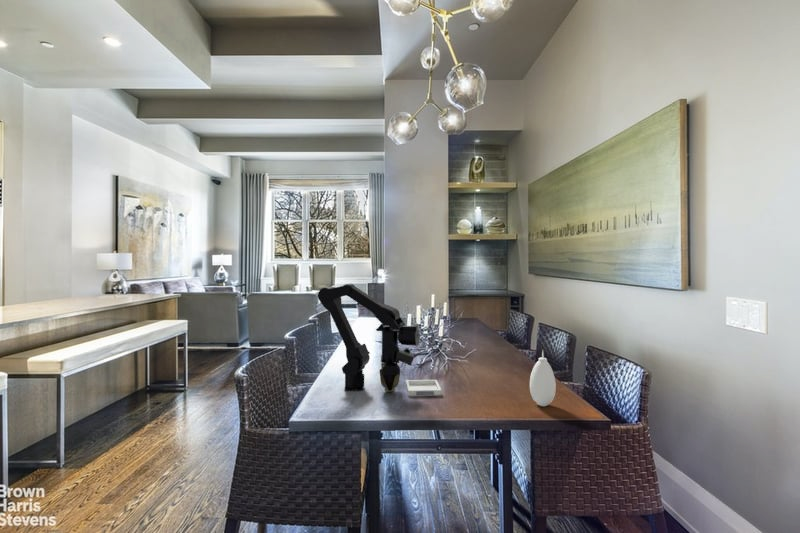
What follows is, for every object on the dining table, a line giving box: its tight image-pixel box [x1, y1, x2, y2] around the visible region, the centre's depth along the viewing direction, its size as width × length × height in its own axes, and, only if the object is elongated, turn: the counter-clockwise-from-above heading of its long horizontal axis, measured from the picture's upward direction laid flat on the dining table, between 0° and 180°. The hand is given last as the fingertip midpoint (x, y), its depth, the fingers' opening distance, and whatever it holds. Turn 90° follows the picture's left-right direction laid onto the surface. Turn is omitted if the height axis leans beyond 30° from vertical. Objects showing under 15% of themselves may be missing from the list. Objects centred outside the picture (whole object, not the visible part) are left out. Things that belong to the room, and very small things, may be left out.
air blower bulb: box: [529, 350, 557, 407], centre depth 124 cm, size 8×8×18 cm
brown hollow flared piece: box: [379, 368, 401, 394], centre depth 136 cm, size 8×7×8 cm
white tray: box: [405, 379, 443, 397], centre depth 137 cm, size 12×12×2 cm
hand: (389, 387), depth 136 cm, fingers closed on brown hollow flared piece, 6 cm apart
